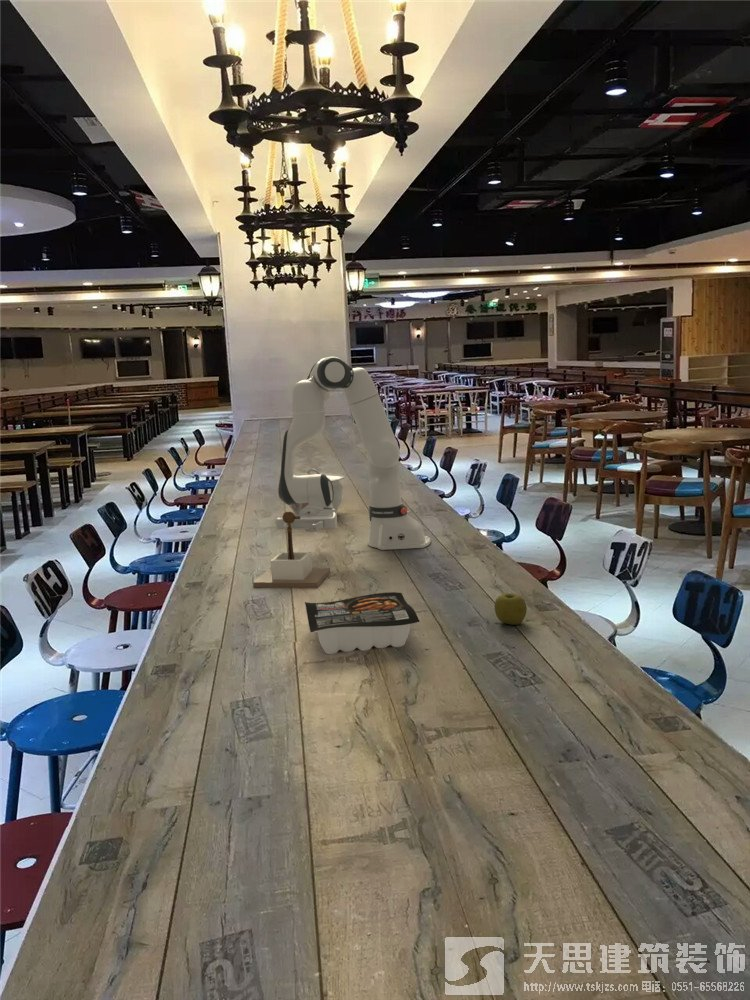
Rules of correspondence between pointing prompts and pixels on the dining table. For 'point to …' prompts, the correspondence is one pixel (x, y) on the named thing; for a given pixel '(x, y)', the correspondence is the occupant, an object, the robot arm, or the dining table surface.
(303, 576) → the utensil holder
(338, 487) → the chamber pot
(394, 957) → the dining table surface
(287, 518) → the wooden tabletop sculpture
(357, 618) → the food packaging
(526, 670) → the dining table surface
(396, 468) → the robot arm
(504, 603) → the apple
